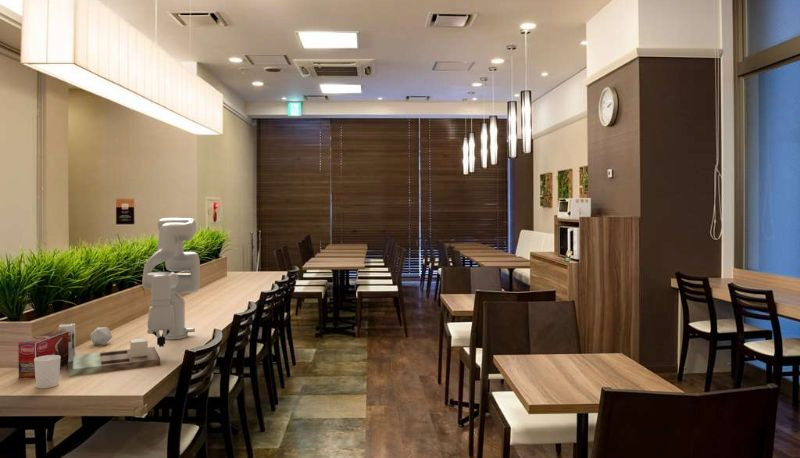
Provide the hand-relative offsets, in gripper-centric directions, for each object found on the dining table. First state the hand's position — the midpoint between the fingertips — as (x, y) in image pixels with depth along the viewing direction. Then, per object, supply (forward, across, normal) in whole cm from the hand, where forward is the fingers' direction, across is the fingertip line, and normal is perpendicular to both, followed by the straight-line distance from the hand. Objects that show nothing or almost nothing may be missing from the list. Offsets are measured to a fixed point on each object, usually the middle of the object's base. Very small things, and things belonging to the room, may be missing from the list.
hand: (161, 346), depth 230 cm
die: (+5, +21, -39) cm, 45 cm away
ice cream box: (+5, +42, -1) cm, 42 cm away
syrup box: (+5, +34, -17) cm, 39 cm away
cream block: (+3, +8, 0) cm, 9 cm away
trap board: (+5, +18, 0) cm, 18 cm away
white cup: (+5, +40, +21) cm, 45 cm away
